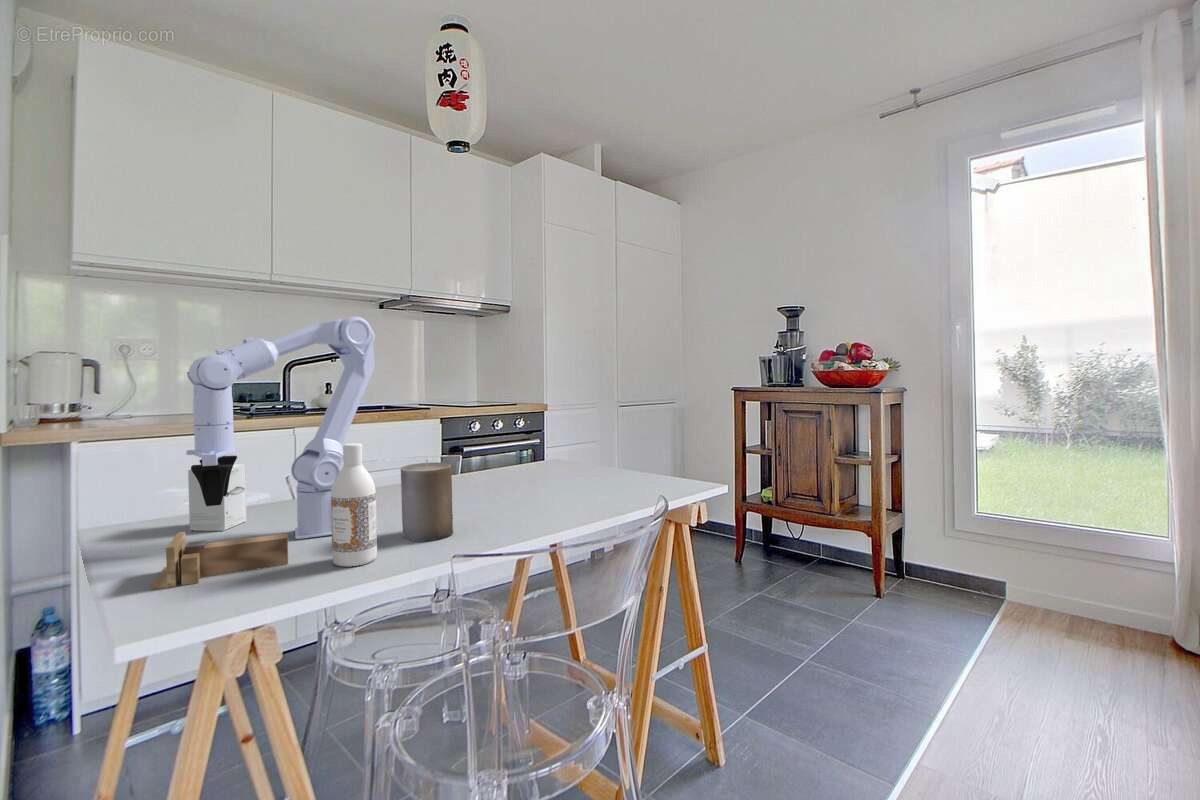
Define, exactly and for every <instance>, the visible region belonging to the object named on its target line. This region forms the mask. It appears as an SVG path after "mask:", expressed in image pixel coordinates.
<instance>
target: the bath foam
mask: <svg viewBox="0 0 1200 800" xmlns="http://www.w3.org/2000/svg"><path fill="white" fill-rule="evenodd" d="M342 449H343V462H342V463H343V465H342V469H341V471H340V472H339V474H338V475H337V477H336V479H335V481H334V483H333V486H332V491H331V517H332V535H331V547H332V548H331V550H332V562H333V564H334V565H336V566H338V567H343V568H344V567H346V568H349V567H350V568H353V567H359V565H360V566H363V565H366V564H369V563H372V562H374V561H375V560H376V559H377V557H378V538H377V535H378V534H377V533H378V532H377V530H378V529H377V492H376V485H375V482H374V479H373V478H372V476H371V475H370V473H369V471H368V470H367V469H366V468H365V466H364V465H363V444H362V443H359V442H358V443H356V442H353V443H345V444H344V443H343V444H342ZM352 566H353V567H352Z"/></svg>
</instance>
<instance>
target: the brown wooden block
mask: <svg viewBox="0 0 1200 800" xmlns="http://www.w3.org/2000/svg"><path fill="white" fill-rule="evenodd" d="M288 537H289V536H288V533H280V534H271V535H264V536H256V537H255V536H253V537H248V538H247V537H246V538H238V539H230V540H222V541H215V542H214V541H213V542H207V539H205V540H204V539H203V540H196V541H189V542H187V543H186V547H185V549H184V555H185V554H193V553H199V555H200V578H204V577H210V576H211V577H212V576H218V574H219V575H224V574H223V573H226V574H230V573H229V572H233V573H238V572H237V571H239V572H245V571H244V570H246V571H251V570H252V569H253V570H258V569H257V568H260V569H265V567H267V568H271V567H270V566H274V567H278V566H277V565H281V566H285V565H284V564H288V565H289V548H288V547H289V545H288V544H289V543H288V541H289V540H288ZM235 571H236V572H235Z"/></svg>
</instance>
